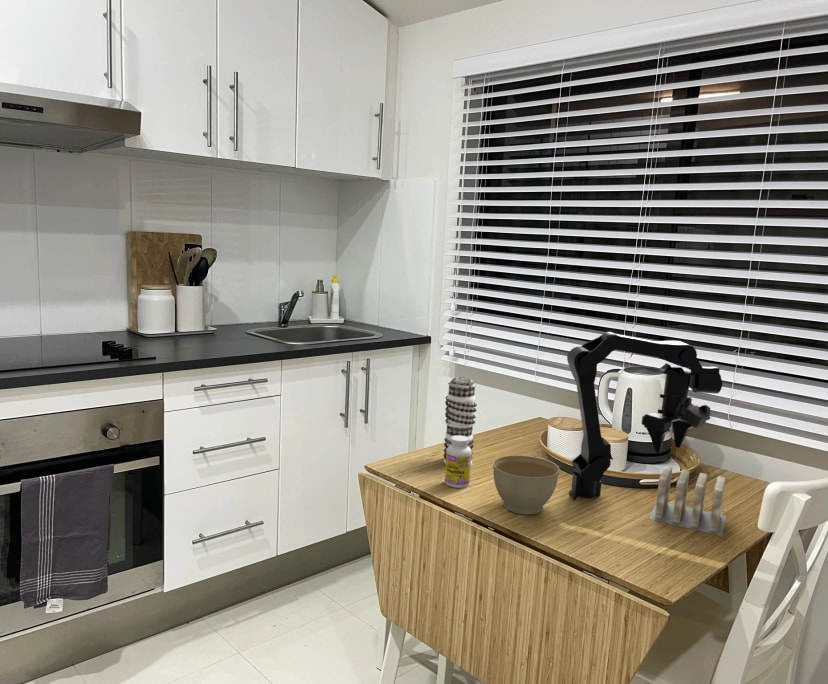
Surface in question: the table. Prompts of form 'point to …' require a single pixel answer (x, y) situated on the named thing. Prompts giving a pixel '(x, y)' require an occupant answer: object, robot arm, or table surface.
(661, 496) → the domino
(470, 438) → the decorative candle
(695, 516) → the domino
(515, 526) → the table surface
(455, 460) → the supplement bottle
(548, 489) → the planter bowl
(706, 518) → the board
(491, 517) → the table surface
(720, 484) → the domino
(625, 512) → the table surface
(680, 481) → the domino
